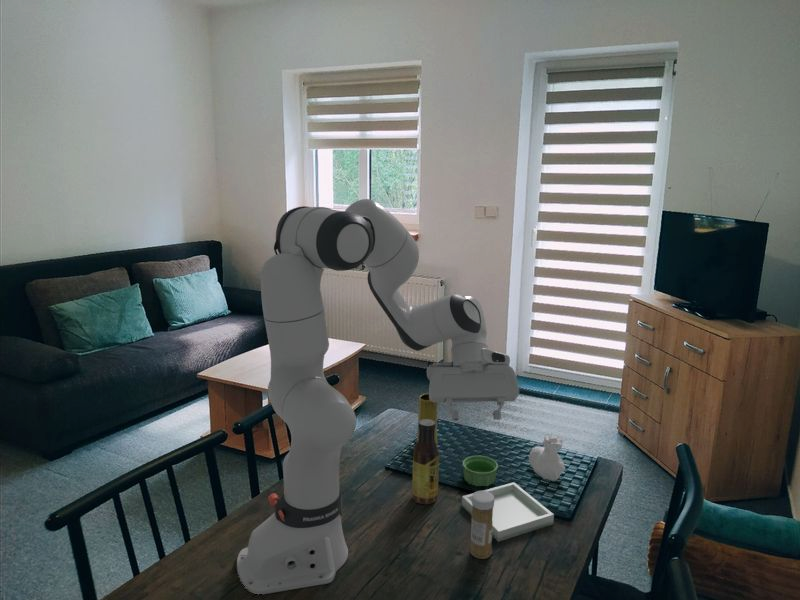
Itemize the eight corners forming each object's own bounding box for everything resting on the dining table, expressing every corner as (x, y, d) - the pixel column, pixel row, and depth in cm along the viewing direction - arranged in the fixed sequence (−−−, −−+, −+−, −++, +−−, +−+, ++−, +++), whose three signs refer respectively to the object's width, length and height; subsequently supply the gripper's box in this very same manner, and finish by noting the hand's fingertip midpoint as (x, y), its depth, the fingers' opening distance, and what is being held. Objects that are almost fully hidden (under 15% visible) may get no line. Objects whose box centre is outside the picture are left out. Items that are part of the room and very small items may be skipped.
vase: (427, 436, 177) (428, 391, 173) (442, 443, 172) (443, 397, 169) (412, 442, 173) (413, 396, 170) (426, 450, 169) (427, 403, 165)
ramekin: (460, 486, 150) (461, 471, 149) (463, 468, 159) (463, 453, 158) (496, 490, 149) (497, 474, 148) (497, 472, 157) (498, 457, 156)
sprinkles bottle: (496, 555, 125) (499, 497, 121) (479, 562, 122) (482, 504, 119) (481, 543, 128) (484, 487, 125) (465, 550, 126) (467, 493, 123)
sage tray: (498, 541, 129) (498, 531, 128) (461, 505, 142) (462, 496, 141) (553, 524, 135) (553, 514, 135) (513, 491, 148) (514, 482, 148)
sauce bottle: (433, 508, 141) (435, 430, 136) (408, 502, 143) (409, 426, 138) (440, 493, 147) (443, 419, 142) (416, 488, 149) (418, 415, 144)
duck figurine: (562, 491, 152) (586, 454, 153) (545, 480, 149) (569, 442, 150) (532, 470, 163) (554, 435, 164) (515, 459, 159) (538, 423, 160)
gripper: (427, 357, 136) (430, 415, 128) (516, 355, 136) (524, 413, 129) (425, 368, 141) (428, 424, 134) (511, 367, 142) (518, 423, 135)
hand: (476, 419), depth 131 cm, fingers open, 8 cm apart
